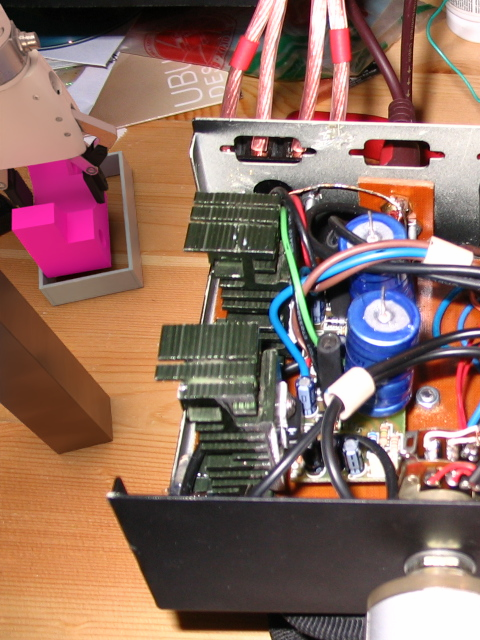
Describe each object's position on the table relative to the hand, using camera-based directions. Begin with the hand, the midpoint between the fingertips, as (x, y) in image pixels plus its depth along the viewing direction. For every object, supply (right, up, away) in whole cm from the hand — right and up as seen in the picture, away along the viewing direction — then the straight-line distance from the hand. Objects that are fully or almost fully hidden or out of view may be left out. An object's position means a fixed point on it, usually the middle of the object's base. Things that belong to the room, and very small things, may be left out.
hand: (65, 199), depth 82 cm
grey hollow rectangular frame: (+1, -3, +5) cm, 5 cm away
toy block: (0, -2, +3) cm, 3 cm away
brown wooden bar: (+6, -23, -7) cm, 25 cm away
